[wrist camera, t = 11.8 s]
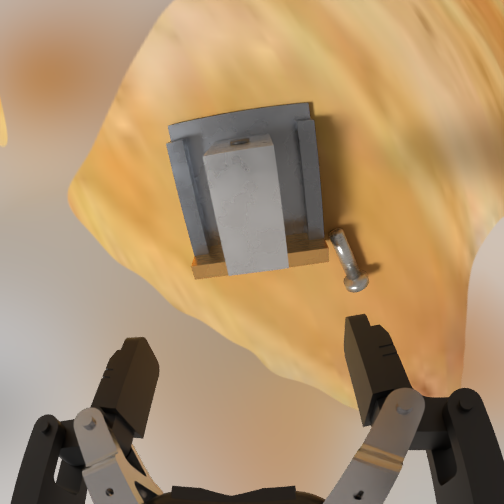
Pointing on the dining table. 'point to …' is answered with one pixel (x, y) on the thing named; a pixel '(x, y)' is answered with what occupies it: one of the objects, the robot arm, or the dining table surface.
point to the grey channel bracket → (289, 175)
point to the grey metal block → (247, 203)
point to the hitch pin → (348, 262)
